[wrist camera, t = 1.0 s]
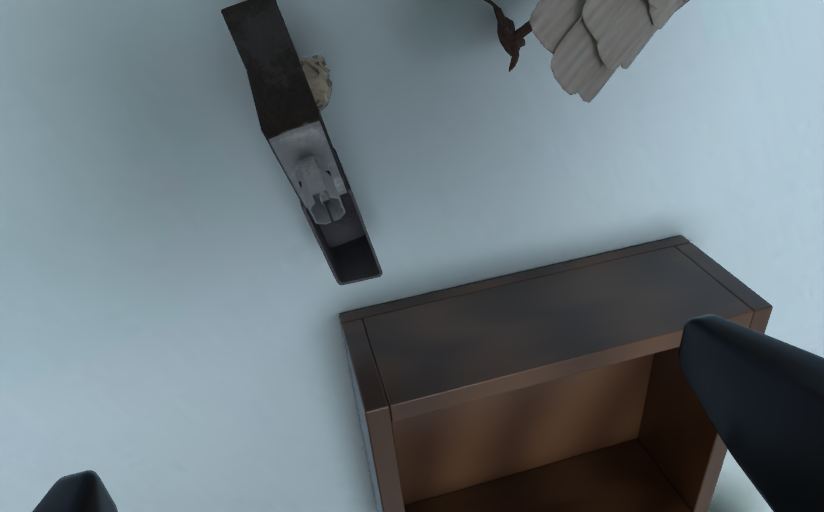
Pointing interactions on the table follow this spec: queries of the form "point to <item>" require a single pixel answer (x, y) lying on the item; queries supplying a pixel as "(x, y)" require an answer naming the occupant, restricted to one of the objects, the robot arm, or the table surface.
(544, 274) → the caddy
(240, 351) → the table surface
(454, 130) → the table surface
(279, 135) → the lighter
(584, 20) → the decorative bird
